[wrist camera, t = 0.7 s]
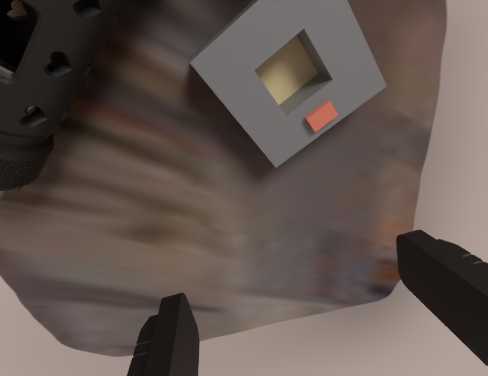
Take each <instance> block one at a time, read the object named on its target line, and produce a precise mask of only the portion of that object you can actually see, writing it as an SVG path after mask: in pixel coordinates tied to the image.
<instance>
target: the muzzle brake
mask: <svg viewBox="0 0 488 376" xmlns="http://www.w3.org/2000/svg"><path fill="white" fill-rule="evenodd" d="M12 1H13V0H0V199H3V198H7V197H9V196H12V195H14V194H16V193H17V192H18V191H20V190H21V188H22V187H23V186H25V185H27V184H30V183H31V182H32V181H34V180H35V179H36V178H37V177H38V175H39V174H40V172H41V170H42V169H43V167H44V165H45V163H46V161H47V159H48V157H49V155H50V154H51V152H52V150H53V145H54V142H53V139H54V138H53V133H55V132H57V131H58V130H59V129H60V128H61V126H62V124H63V122H64V120H65V118H66V116H67V114H68V112H69V111H70V109H71V107H72V105H73V103H74V101H75V99H76V97H77V95H78V94H79V92H80V90H81V88H82V86H83V84H84V82H85V80H86V78H87V76H88V75H89V73H90V71H91V68H92V67H93V65H94V63H95V61H96V59H97V58H98V56H99V54H100V52H101V50H102V48H103V46H104V44H105V42H106V41H107V39H108V37H109V35H110V33H111V31H112V29H113V27H114V25H115V24H116V22H117V20H118V17H119V16H120V14H121V12H122V10H123V8H124V7H125V5H126V3H127V1H128V0H20V1H21V2H22V4H23V7H24V9H25V11H26V14H27V15H23V16H19V17H15V18H12V17H10V16H8V15H7V13H8V12H9V11H10V10H12V7H11V2H12Z"/></svg>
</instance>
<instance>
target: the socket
mask: <svg viewBox="0 0 488 376" xmlns="http://www.w3.org/2000/svg"><path fill="white" fill-rule="evenodd" d="M190 64H191V65H192V66H193V67H194V69H195V70H196V71H197V72H198V74H199V75H200V76H201V77H202V78H203V80H204V81H205V82H206V83H207V84H208V86H209V87H210V88H211V89H212V91H213V92H214V93H215V94H216V95H217V97H218V98H219V99H220V100H221V102H222V103H223V104H224V105H225V106H226V108H227V109H228V110H229V111H230V113H231V114H232V115H233V116H234V117H235V119H236V120H237V121H238V122H239V123H240V125H241V126H242V127H243V128H244V130H245V131H246V132H247V133H248V134H249V136H250V137H251V138H252V139H253V141H254V142H255V143H256V144H257V145H258V147H259V148H260V149H261V150H262V152H263V153H264V154H265V155H266V156H267V158H268V159H269V160H270V161H271V162H272V164H273V165H274V166H275V167H276V168H277V167H278V166H279V165H281V164H282V163H283V162H285V161H286V160H287V159H289V158H290V157H291V156H293V155H294V154H296V153H297V152H298V151H300V150H301V149H302V148H304V147H305V146H306V145H308V144H309V143H310V142H312V141H313V140H314V139H316V138H317V137H319V136H320V135H321V134H323V133H324V132H325V131H327V130H328V129H329V128H331V127H332V126H333V125H335V124H336V123H338V122H339V121H340V120H342V119H343V118H344V117H346V116H347V115H348V114H350V113H351V112H352V111H354V110H355V109H357V108H358V107H359V106H361V105H362V104H363V103H365V102H366V101H367V100H369V99H370V98H371V97H373V96H374V95H376V94H377V93H378V92H380V91H381V90H382V89H384V88H385V87H386V86H387V85H386V83H385V81H384V79H383V77H382V75H381V72H380V70H379V68H378V66H377V64H376V62H375V59H374V57H373V55H372V53H371V51H370V49H369V46H368V44H367V42H366V40H365V38H364V36H363V33H362V31H361V29H360V27H359V25H358V23H357V20H356V18H355V16H354V14H353V12H352V10H351V7H350V5H349V3H348V1H347V0H252V1H251V2H250V3H249V4H248V5H247V6H246V7H245V8H244V9H243V10H242V11H240V12H239V13H238V14H237V15H236V16H235V17H234V18H233V19H232V20H231V21H229V22H228V23H227V24H226V25H225V26H224V27H223V28H222V29H221V30H220V31H219V32H217V33H216V34H215V35H214V36H213V37H212V38H211V39H210V40H209V41H208V42H207V43H205V44H204V45H203V46H202V47H201V48H200V49H199V50H198V51H197V52H196V53H194V54H193V55H192V56H191V59H190Z"/></svg>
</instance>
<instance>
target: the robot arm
mask: <svg viewBox="0 0 488 376" xmlns="http://www.w3.org/2000/svg"><path fill="white" fill-rule="evenodd" d="M396 243H397V258H398V271H399V275H400V278H401V280H402V282H403V283H404V285H405V286H406V287H407V288H408V289H409V290H410V291H411V292H412V293H413V294H414V295H415V296H416V297H417V298H418V299H419V300H420V301H421V302H422V303H423V304H424V305H425V306H426V307H427V308H428V309H429V310H430V311H431V312H432V313H433V314H434V315H435V316H436V317H437V318H438V319H439V320H440V321H441V322H442V323H444V325H445V326H447V327H448V328H449V329H450V330H451V331H452V332H453V333H454V334H455V335H456V336H457V337H458V338H459V339H460V340H461V341H462V342H463V343H464V344H465V345H466V346H467V347H468V348H469V349H470V350H471V351H472V352H473V353H474V354H475V355H476V356H477V357H478V358H479V359H480V360H481V361H482V362H483V363H484V364H485V365H487V366H488V263H486V262H483V261H482V260H481V259H480V258H478V257H476V256H474V255H471V253H470V252H468V251H466V250H465V249H463V248H461V247H460V246H458V245H456V244H453V243H450V242H447V241H444V240H441V239H438V240H436V239H435V238H433V237H431V236H430V235H428V234H427V233H425V232H424V231H422V230H416V231H412V232H408V233H405V234H401V235H398V236H397V239H396ZM198 362H199V333H198V328H197V325H196V322H195V319H194V317H193V314H192V311H191V308H190V306H189V303H188V300H187V298H186V295H185V294H184V293H179V294H176V295H172V296H168V297H164V298H162V301H161V304H160V309H159V313H158V315H154V316H151V317H149V319H148V320H147V322H146V323H145V324H144V326H143V327H142V329H141V331H140V334H139V337H138V341H137V346H136V347H135V351H134V354H133V358H132V361H131V364H130V367H129V371H128V374H127V376H198Z"/></svg>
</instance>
